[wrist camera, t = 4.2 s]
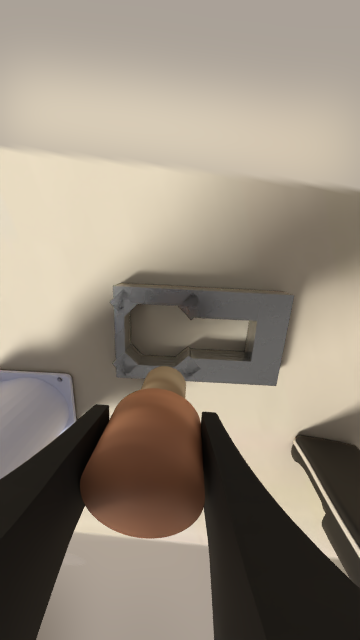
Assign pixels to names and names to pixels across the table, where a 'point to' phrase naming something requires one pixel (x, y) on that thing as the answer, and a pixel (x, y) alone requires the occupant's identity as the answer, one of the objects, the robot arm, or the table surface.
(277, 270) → the table surface
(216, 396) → the table surface
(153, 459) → the peg
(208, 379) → the keyhole plate
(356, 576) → the battery charger
